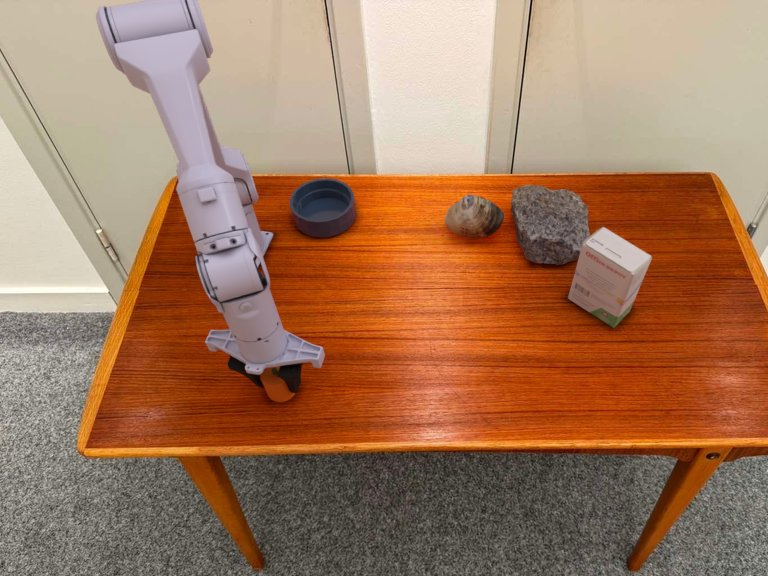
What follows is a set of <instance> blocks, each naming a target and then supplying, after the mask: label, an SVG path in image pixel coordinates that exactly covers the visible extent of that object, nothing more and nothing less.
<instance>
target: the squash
mask: <svg viewBox="0 0 768 576" xmlns="http://www.w3.org/2000/svg"><path fill="white" fill-rule="evenodd" d="M279 368H280V366H276V367H268V368H265V369H264V370H263V372H262V374H260V379H261V381H262V383H263V385H264V388H263V389H264V390H265V392H266V394H267V396H268V398H269V399H270V400H271V401H273V402H276V403H284V402H288V401H290V400H291V399H292V398H293V397H294V396H295V395H296V393H291V392H290V391H289V389H288V387H287V384H286V383H285V381H284V380H283V379H281V378H279V377H277V373H278V371H279Z"/></svg>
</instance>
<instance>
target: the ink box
mask: <svg viewBox="0 0 768 576" xmlns="http://www.w3.org/2000/svg"><path fill="white" fill-rule="evenodd" d="M652 259H653V256H652V255H650V254H649V253H648V252H647V251H644V250H643V249H641V248H639V247H637V246H636V245H634V244H632V243H631V242H629V241H628V240H626V239H624V237H621V236H619V235H618V234H616V233H614V232H613V231H611V230H609V228H606V227H605V226H601V227H600V228H599V229H597V230H596V231H595V232H593V233H592V234H590V237H589V238H588V239H586V240H585V241H584V242H583V244H582V248H581V252H580V256H579V258H578V259H577V263H576V267H575V270H574V275H573V278H572V282H571V285H570V288H569V291H568V295H567V299H568V300H569V301H570V302H572V303H574V304H576V305H577V306H579V307H580V308H581V309H583V310H585V311H586V312H587V313H589V314H590V315H593V317H596V318H597V319H599V320H600V321H601V322H603V323H604V324H606V325H608V326H609V327H611V328H612V329H615V328H616V327H617V326H618V325H619V324H620V322H622V321H623V319H624V318H625V317H627V315H628V314H629V313H630V312H631V309H632V307H633V305H634V302H635V300H636V298H637V295H638V293H639V292H640V291H639V290H640V288H641V286H642V283H643V280H644V278H645V276H646V274H647V272H648V269H649V266H650V264H651V262H652Z"/></svg>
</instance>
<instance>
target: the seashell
mask: <svg viewBox="0 0 768 576" xmlns="http://www.w3.org/2000/svg"><path fill="white" fill-rule="evenodd" d="M504 220H505V212H504V210H502V209H501V208H500V207H499V206H498V205H497V204H495V203H494V202H492V200H490V199H488V198H486V197H483V196H479V195H474V194H467V195H465V196H463V197H461V199H460V200H458V201H456V202H455V203H453V204H452V205H451V206H450V207H449V208H448V210H447V211H446V213H445V216H444V225H445V226H446V227H447V229H448V230H449V231H450V232H452V233H453V234H455V235H457V236H458V237H461V238H465V239H471V240H479V239H483V238H487V237H490V236H492V235H493V234H495V233H496V232H497V231H499V229H500V228H501V226H502V224H503V222H504Z"/></svg>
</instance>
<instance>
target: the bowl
mask: <svg viewBox="0 0 768 576" xmlns="http://www.w3.org/2000/svg"><path fill="white" fill-rule="evenodd" d="M356 205H357V204H356V198H355V193H354V192H353V189H352V188H351V187H350V185H348V184H347V183H345V182H344V181H341V180H338V179H336V178H330V177H329V178H328V177H324V178H315V179H311V180H308V181H306V182H304V183H301V185H299V186H298V187H296V189H294V191H293V192H292V193H291V195H290V198H289V209H290V213H291V216H292V220H293V223H294V226H295V227H296V228H297V229H298V230H299V231H300V232H301V233H302V234H305V235H307V236H310V237H314V238H331V237H336V236H338V235H340V234H342V233H344V232H345V231H347V230H348V229H350V227H351V226H352V225H353V224H354V223H355V221H356V217H357V215H358V214H357V206H356Z"/></svg>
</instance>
